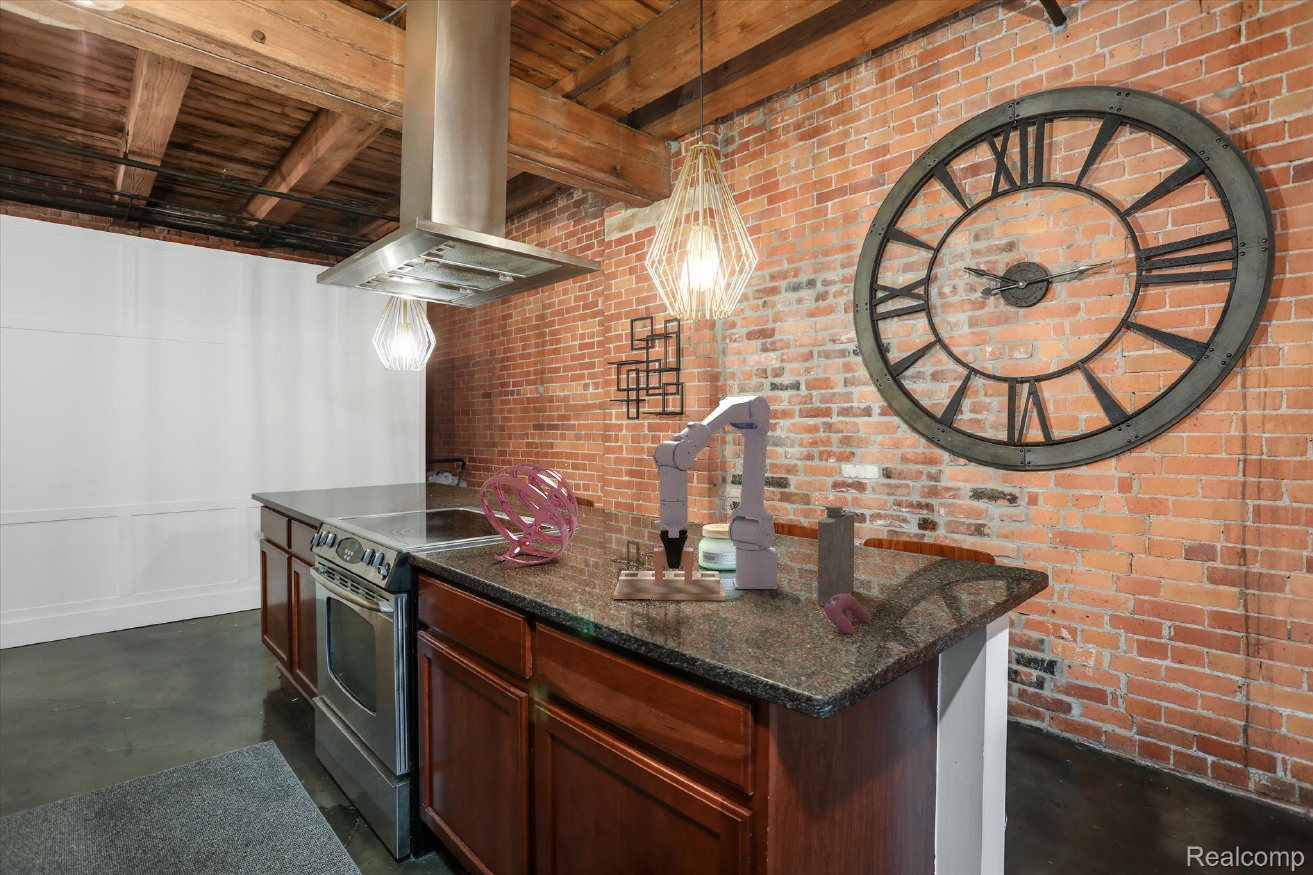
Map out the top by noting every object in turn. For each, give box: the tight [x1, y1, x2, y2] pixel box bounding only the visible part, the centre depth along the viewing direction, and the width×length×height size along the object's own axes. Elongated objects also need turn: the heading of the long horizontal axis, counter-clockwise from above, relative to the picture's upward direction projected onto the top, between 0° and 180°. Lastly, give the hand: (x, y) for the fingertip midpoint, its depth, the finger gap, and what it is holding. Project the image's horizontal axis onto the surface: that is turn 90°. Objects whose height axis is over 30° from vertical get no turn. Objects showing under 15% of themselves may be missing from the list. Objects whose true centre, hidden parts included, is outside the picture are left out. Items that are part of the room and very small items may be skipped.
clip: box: [653, 547, 694, 585], centre depth 130 cm, size 8×3×7 cm, turn 88°
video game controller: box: [824, 593, 872, 636], centre depth 120 cm, size 10×5×7 cm, turn 141°
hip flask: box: [816, 504, 855, 607], centre depth 139 cm, size 16×4×20 cm, turn 144°
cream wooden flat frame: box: [613, 570, 726, 601], centre depth 142 cm, size 24×11×4 cm, turn 88°
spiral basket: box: [479, 462, 579, 566], centre depth 174 cm, size 28×28×27 cm
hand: (673, 566), depth 130 cm, fingers closed on clip, 3 cm apart
